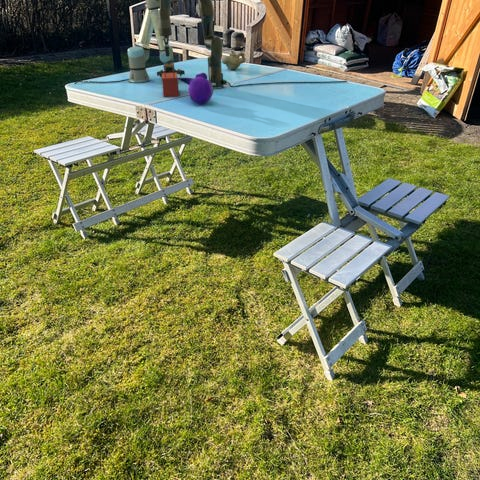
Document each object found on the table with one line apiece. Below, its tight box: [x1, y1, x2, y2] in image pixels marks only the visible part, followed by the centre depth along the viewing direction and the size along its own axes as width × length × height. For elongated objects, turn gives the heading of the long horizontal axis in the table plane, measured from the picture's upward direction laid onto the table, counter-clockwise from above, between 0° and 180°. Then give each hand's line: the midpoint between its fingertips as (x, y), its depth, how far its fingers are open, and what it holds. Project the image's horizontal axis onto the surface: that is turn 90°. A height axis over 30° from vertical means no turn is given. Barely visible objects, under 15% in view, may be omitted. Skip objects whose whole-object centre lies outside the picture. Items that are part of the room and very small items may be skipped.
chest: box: [161, 79, 180, 98], centre depth 297 cm, size 17×10×11 cm, turn 8°
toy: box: [178, 72, 214, 105], centre depth 275 cm, size 16×18×27 cm
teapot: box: [221, 49, 246, 71], centre depth 371 cm, size 21×12×15 cm, turn 120°
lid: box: [161, 64, 179, 81], centre depth 292 cm, size 18×10×8 cm, turn 8°
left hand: (171, 75), depth 321 cm, fingers open, 13 cm apart
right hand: (167, 55), depth 282 cm, fingers open, 8 cm apart
